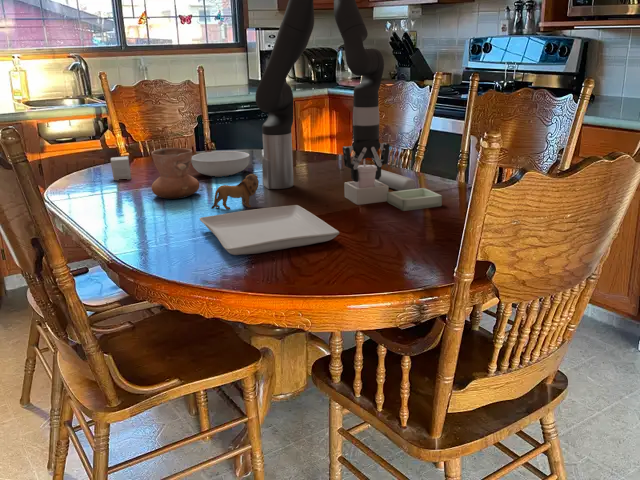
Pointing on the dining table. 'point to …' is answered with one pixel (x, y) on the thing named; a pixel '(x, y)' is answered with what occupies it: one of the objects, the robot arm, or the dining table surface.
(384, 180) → the tube
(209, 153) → the serving bowl
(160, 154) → the ceramic jug
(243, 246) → the square plate
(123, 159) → the skincare box
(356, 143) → the robot arm
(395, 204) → the tray
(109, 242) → the dining table surface
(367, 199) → the hollow square frame
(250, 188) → the lion figurine
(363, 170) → the smoothie
